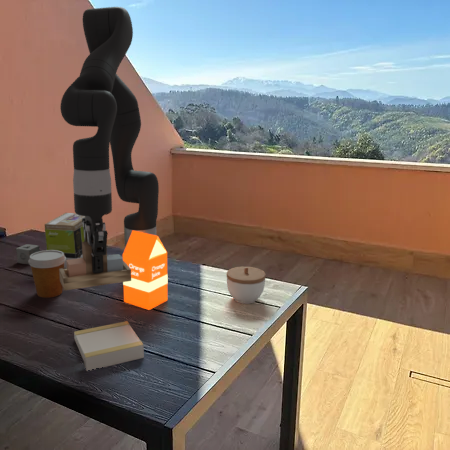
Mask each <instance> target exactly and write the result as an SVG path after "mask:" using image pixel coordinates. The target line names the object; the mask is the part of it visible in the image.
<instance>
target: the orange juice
mask: <svg viewBox="0 0 450 450" xmlns="http://www.w3.org/2000/svg"><path fill="white" fill-rule="evenodd" d="M122 258H123V261H124V262H125V263H126V264H127V265H128V266H129V267H130V269H131V281H127V282H122V285H123V302H124V303H127V304H129V305H133V306H135V307H139V308H142V309H144V310H145V309H146V310H148V311H150V310H152V309H153V308H156V307H157V306H159V305H162V304H164V303H165V302H167V301H168V293H169V292H168V290H169V289H168V282H169V281H168V279H169V277H168V276H169V274H168V251H167V250H166V247H165V246H164V244H163V242H162V241H161V239H160V237H159V236H158V235H157V234H156V235H151V234H147V233H142V232H138V231H133V230H132V233H131V235H130V238H129V240H128V243H127V245H126V248H125V247H124V250H123V253H122Z"/></svg>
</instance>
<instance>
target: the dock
mask: <svg viewBox="0 0 450 450" xmlns="http://www.w3.org/2000/svg"><path fill="white" fill-rule="evenodd" d="M73 334H74V335H73V337H74V342H75V343H76V346H77V348H78V350H79V353H80V355H81V358H82V360H83V362H82V364H83V366H84V368H86V369H85V371H86V372H89V371H88V370H90V371H93V370H92V369H94V370H97V369H96V368H99V369H101V368H102V367H103V368H107V367H111V366H115V365H118V364H123V363H128V362H131V361H135V360H140V359H143V358H145V352H144V351H145V350H144V347H145V346H144V343H143V342H142V340H141V339H140V338H139V337H138V335H137V334H136V332H135V331H134V329H133V328H132V326H131V325H130V323H129V322H128V320H126V321H120V322H114V323H110V324H106V325H100V326H96V327H91V328H86V329H80V330H77V331H76V330H75V331H73Z"/></svg>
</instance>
